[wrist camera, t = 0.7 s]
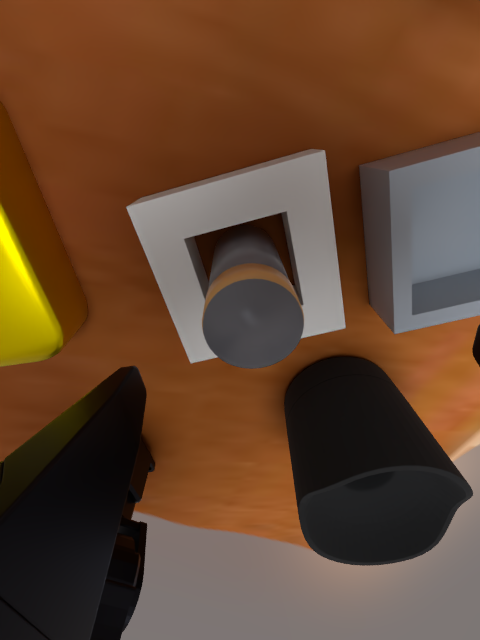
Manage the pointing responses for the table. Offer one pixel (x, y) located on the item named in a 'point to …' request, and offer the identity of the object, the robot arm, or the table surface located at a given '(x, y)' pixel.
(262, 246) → the battery cell
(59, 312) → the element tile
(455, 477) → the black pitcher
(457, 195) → the square tray
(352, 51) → the table surface
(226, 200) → the square frame
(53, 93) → the table surface
